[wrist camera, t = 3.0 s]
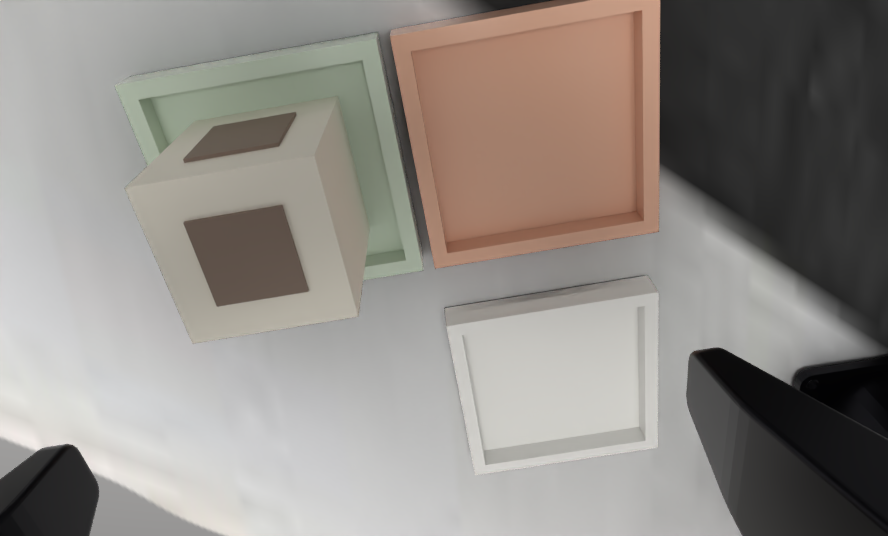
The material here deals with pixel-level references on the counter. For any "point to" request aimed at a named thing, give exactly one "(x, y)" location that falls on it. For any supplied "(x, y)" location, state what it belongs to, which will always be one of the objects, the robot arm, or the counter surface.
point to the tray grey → (558, 374)
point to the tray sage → (288, 82)
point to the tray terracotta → (534, 126)
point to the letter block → (257, 220)
